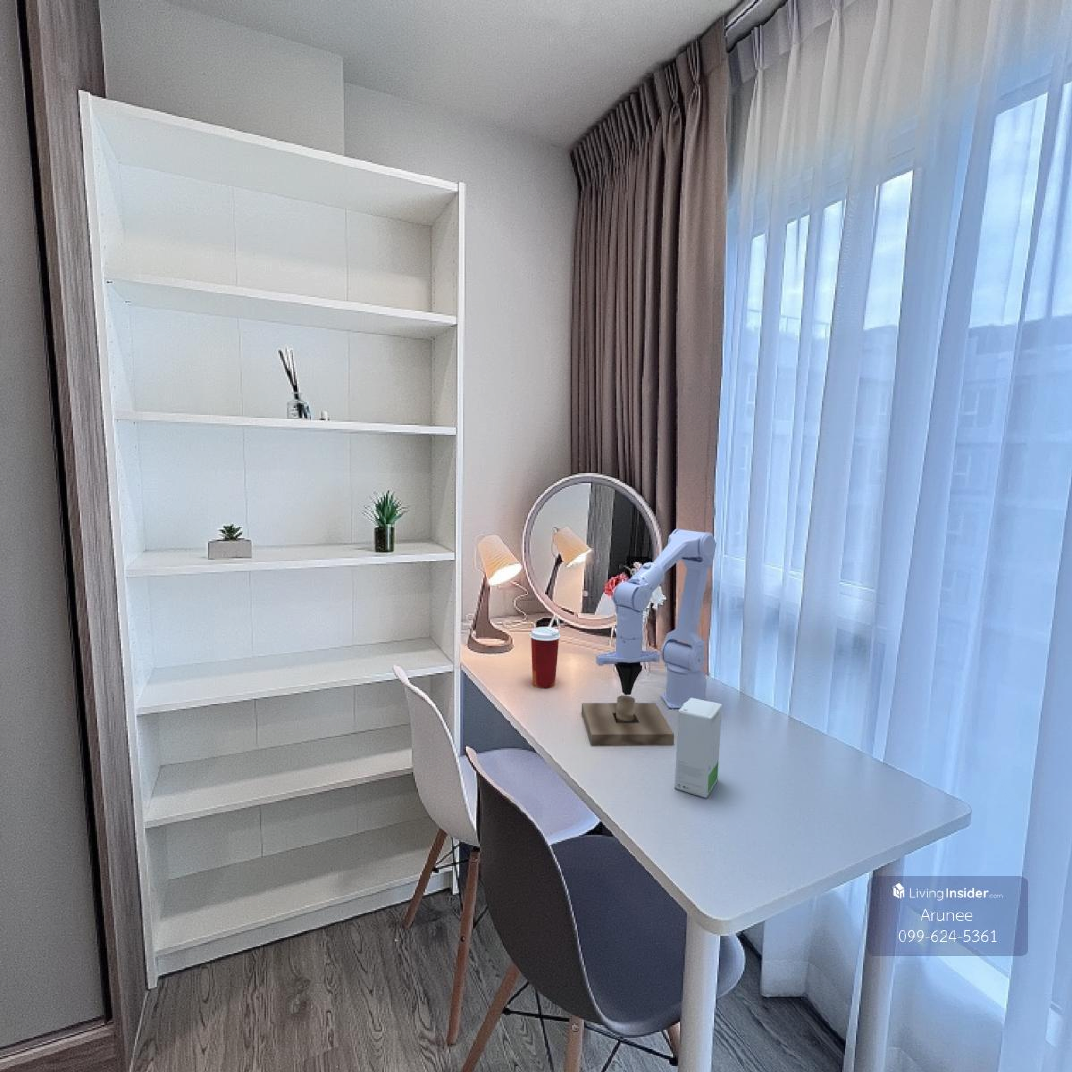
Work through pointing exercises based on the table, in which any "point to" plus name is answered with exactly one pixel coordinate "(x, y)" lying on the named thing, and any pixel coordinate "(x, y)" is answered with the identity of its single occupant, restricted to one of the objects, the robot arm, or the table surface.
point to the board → (626, 725)
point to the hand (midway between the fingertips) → (626, 693)
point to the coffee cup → (544, 656)
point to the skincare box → (698, 746)
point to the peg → (625, 709)
